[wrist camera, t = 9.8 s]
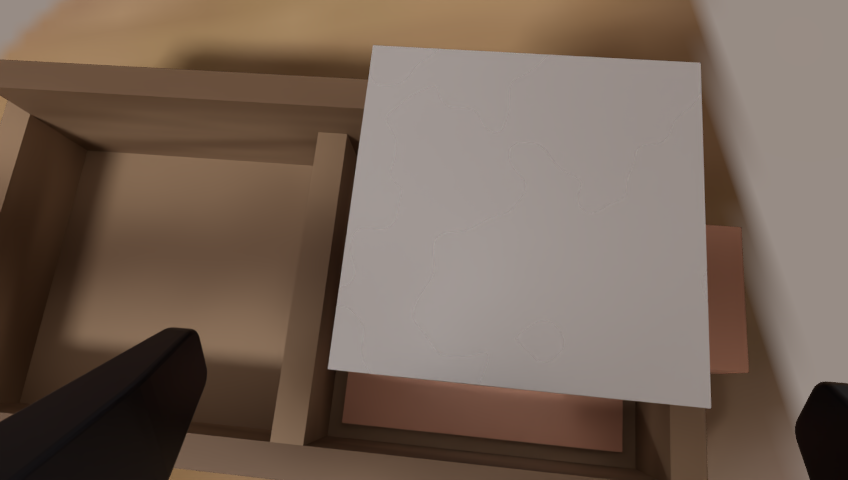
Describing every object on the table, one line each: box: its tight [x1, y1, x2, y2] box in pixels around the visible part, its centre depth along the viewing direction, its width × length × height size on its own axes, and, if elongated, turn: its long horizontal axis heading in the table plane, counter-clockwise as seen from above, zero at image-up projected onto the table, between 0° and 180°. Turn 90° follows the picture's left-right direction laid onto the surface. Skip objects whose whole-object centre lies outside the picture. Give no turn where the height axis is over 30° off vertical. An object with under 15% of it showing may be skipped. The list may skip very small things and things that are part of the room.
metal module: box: [328, 45, 711, 409], centre depth 11 cm, size 4×4×9 cm
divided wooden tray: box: [0, 60, 749, 480], centre depth 14 cm, size 10×19×5 cm, turn 84°
